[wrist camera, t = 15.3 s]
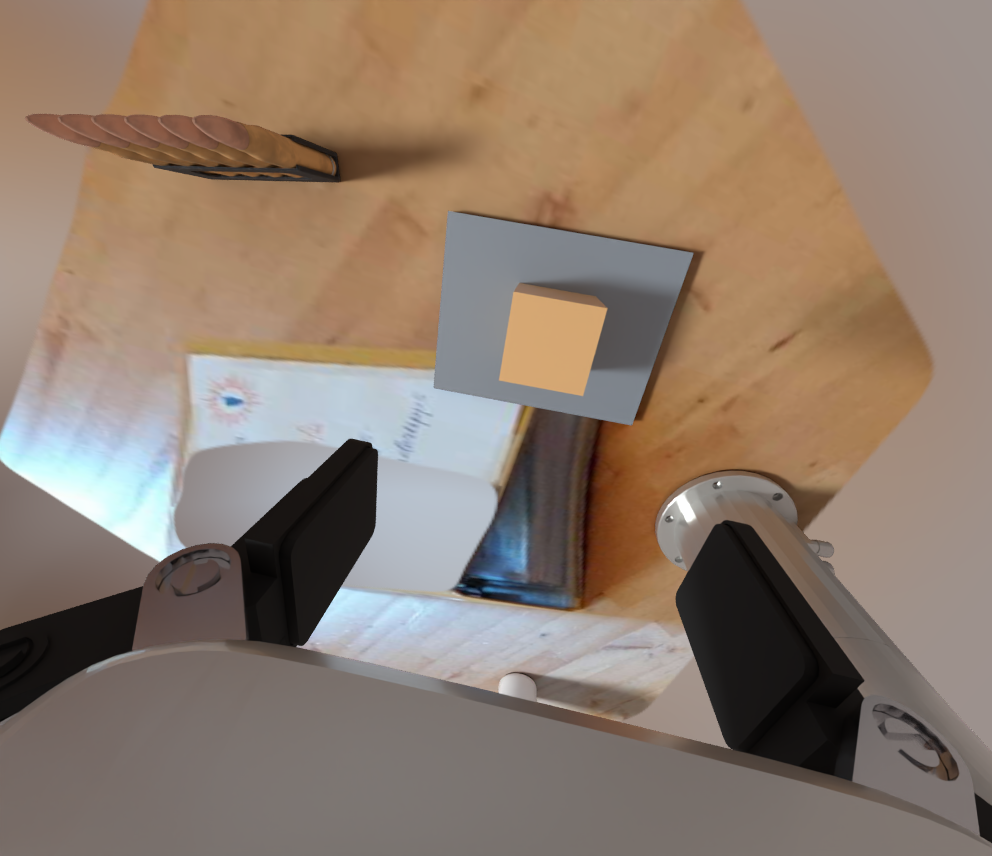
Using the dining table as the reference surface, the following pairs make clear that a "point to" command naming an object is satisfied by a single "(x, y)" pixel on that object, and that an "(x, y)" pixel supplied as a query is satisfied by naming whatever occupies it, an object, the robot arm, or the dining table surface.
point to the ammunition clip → (197, 146)
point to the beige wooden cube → (551, 338)
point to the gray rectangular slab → (563, 266)
